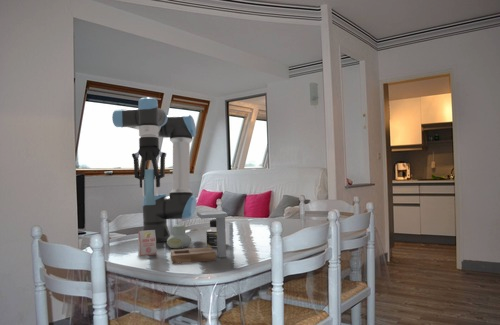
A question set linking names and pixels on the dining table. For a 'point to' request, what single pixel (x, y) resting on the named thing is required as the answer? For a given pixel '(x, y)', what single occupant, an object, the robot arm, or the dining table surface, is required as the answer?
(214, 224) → the medicine bottle
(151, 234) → the tea box
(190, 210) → the robot arm
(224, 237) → the grey angled stand
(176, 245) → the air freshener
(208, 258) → the socket board
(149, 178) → the peg
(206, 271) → the dining table surface
